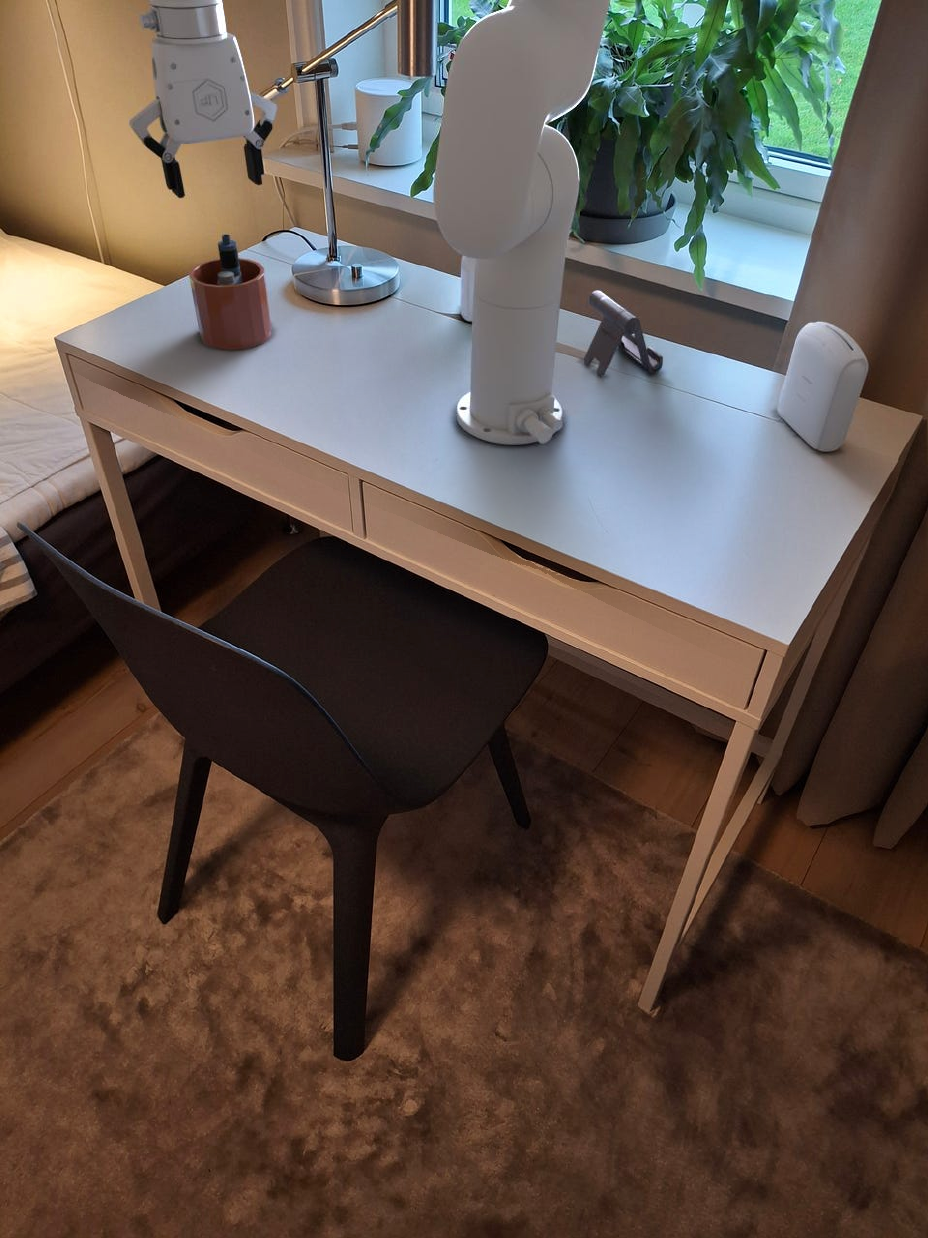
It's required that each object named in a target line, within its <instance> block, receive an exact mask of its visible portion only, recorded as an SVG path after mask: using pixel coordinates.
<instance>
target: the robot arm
mask: <svg viewBox="0 0 928 1238" xmlns="http://www.w3.org/2000/svg"><path fill="white" fill-rule="evenodd" d="M149 2H150V4H149V5H148V7H149V9H148V11H147V12H146V13H141V14H139V22H140V23H139V24H140V26H141V28H142V29H143V30H147V29H148V30H151V31H153V32H154V34H156V37H153V38H152V39H151V64H152V65H151V66H152V77H153V87H154V95H155V99H154V100H153V101H152V102H151V103H149V104H148V105H146V106H145V107H144V108H142V110H140V111H139V112H138V113H137V114H135V115H134V116H133V117H131V118H130V120H129V121H128V125H129V127H130V128H131V130H132V131H133V132H134V134H135V135H136V137H137V138H138V139H139V140H140V141H141V144H142V145H144V146H145V148H147V149H148V150H149V151H151V152H152V153H153V154H155V155H156V156H157V157H158V158H160V161H161V167H162V170H163V175H164V180H165V184H166V187H167V189H168V190H169V191H172V193H173V194H174V195H175V196H176V197H177V198H178V199H184V197H186V193H185V188H184V183H183V182H184V181H183V177H182V172H181V166H180V162H179V161H178V160H177V159H176V157H175V156H176V155H177V153H178V151H179V149H180V147H181V145H192V144H200V143H208V142H216V141H221V140H228V139H235V138H240V137H241V138H242V137H243V138H244V139H245V142H246V143H244V145H243V152H244V158H245V159H244V161H245V167H246V171H247V172H246V173H247V178H248V180H250V182H252V183H253V184H255V185H256V186H262V185H263V178H262V176H264V175H265V168H264V159H263V153H262V149H263V148H264V146H265V142H266V140H267V138H268V137H269V136H270V134H271V132H272V131H273V129H274V127H273V124H274V123H275V119H276V115H277V113H278V109H279V106H278V104H277V103H276V102H274V101H272V100H270V99H269V98H266V97H264V96H261V95H259V94H257V93H255V92H252V91H251V90H250V88H249V84H248V79H247V75H246V69H245V67H244V63H243V58H242V55H241V51H240V48H239V45H238V41H237V39H236V36H235V34H231V33H230V32H227V25H226V19H225V11H224V6H223V0H149ZM610 3H611V0H509V1H508V4H507V6H506V7H505V8H503V9H501V10H498V11H495V12H493V13H490V14H488V15H486V16H484V17H483V18H481V19H480V20H478V21H477V22H476V23H475V24H474V25H472V26H471V27H470V28H469V30H468V31H467V32H466V33H465V35H464V36H463V37H462V39H461V40H460V42H459V44H458V46H457V48H456V50H455V53H454V55H453V58H452V59H451V60H452V61H451V62H450V66H449V70H448V74H447V79H446V87H445V92H444V99H443V107H442V115H441V122H440V130H439V139H438V144H437V145H438V146H437V153H436V162H435V169H434V177H433V189H432V191H433V192H432V193H433V194H432V196H433V197H432V198H433V200H432V201H433V208H434V209H433V210H434V216H435V220H436V223H437V226H438V228H439V231H440V234H441V235H442V236H443V238H444V239H445V241H446V242H447V243H448V245H449V246H450V247H451V248H452V249H453V250H455V252H457V253H458V254H460V255H462V256H463V255H464V256H466V257H469V258H473V259H475V267H474V286H473V311H472V321H471V348H470V349H471V351H470V385H469V387H470V390H469V392H467V393H465V395H463V396H462V397H461V398H460V399H459V401H458V402H457V405H456V420H457V422H458V425H460V427H461V428H462V429H463V430H464V432H467V433H468V434H469V435H471V436H473V437H474V438H477V439H480V440H482V441H485V442H488V443H492V444H498V445H499V444H500V445H506V446H507V445H508V446H510V445H511V446H513V445H515V446H517V445H528V444H533V443H537V442H538V443H540V444H543V445H544V444H546V443H548V442H550V440H551V439H552V437H553V435H554V434H555V433H556V432H559V431H560V430H561V429H562V428H563V426H564V422H563V412H564V411H563V408H562V406H561V404H560V403H559V401H558V400H557V399H556V396H555V395H554V394H552V392H553V382H554V381H553V380H554V372H555V361H556V352H557V351H556V350H557V342H558V341H557V339H558V330H559V329H558V328H559V321H560V319H559V318H560V309H561V299H562V298H561V297H562V290H563V283H564V282H563V281H564V280H563V279H564V271H565V262H566V255H567V249H568V243H569V238H570V234H571V230H572V226H573V220H574V217H575V213H576V208H577V203H578V197H579V190H580V169H579V163H578V159H577V156H576V153H575V151H574V149H573V147H572V145H571V143H570V142H569V140H568V139H567V138H566V137H565V136H564V134H562V133H561V132H560V131H559V130H557V129H556V128H554V127H552V126H550V125H548V124H549V123H551V122H553V121H554V120H556V119H558V118H560V117H562V116H563V115H566V114H567V113H568V112H570V111H571V110H573V109H574V108H576V107H577V105H579V104H580V102H581V101H582V100H583V99H584V98H585V96H586V95H587V93H588V91H589V89H590V86H591V85H592V81H593V78H594V74H595V70H596V65H597V61H598V56H599V51H600V47H601V42H602V38H603V34H604V29H605V26H606V25H605V24H606V20H607V16H608V12H609V7H610ZM253 107H256V108H257V109H260V111H261V114H260V118H259V120H258V121H257V123H256V125H255V115H254V109H253ZM157 119H158V120H159V125H160V128H161V130H162V132H163V135H162V136H161V139H160V141H158V140H156V139H154V137H153V136H152V135H151V133H150V132H149V129H148V127H149V126H150V125H151V124H152V123H153V122H155V121H156V120H157Z"/></svg>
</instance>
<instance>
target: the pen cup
mask: <svg viewBox="0 0 928 1238" xmlns="http://www.w3.org/2000/svg"><path fill="white" fill-rule="evenodd" d="M238 258H239V265H240V272H241V276H242V283H241V284H236V285H225V286H218V284H217V282H218V280H219V279H218V273H219V272H222V268H221V263H222V262H221V261H220V258H216V259H215V258H214V259H210V260H206V261H204V262H200V263H198V264H196V265H195V266H193V268H191V269H190V270H189V271H190V272H189V283H190V289H191V292H192V293H191V294H192V299H193V305H194V310H195V315H196V321H197V326H198V327H197V328H198V333H199V335H200V338H201V339H200V340H201V341H202V342H203V344H205V345H206V346H208V347H210V348H214V349H218V350H223V351H239V350H246V349H251V348H255V347H258V346H260V345H262V344H264V343H265V342H267V341H269V339H270V338H271V336H272V333H273V330H272V320H271V312H270V304H269V303H270V302H269V296H268V289H267V280H266V271H265V267H264V266H263V265H261V263H259V262H257V261H254V260H252V259H249V258H243V257H238Z"/></svg>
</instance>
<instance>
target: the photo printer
mask: <svg viewBox="0 0 928 1238" xmlns="http://www.w3.org/2000/svg"><path fill="white" fill-rule="evenodd" d="M868 372H869V362H868V359H867V357H866V355H865V353H864V351H863V349H862V348H861V347H860V346H859V344H858V343H857V341H855V340H854V339H853V337H852V336H850V335H849V334H848V333H847V332H845V330H843V329H841V328H840V327H838V326H836V325H834V324H832V323H829V322H825V321H815V322H808V323H807V324H805V325H804V326H803V327H802V328H801V329H800V330H799V332H798V334H797V336H796V338H795V342H794V345H793V349H792V352H791V356H790V359H789V363H788V366H787V370H786V374H785V377H784V381H783V385H782V388H781V392H780V396H779V400H778V404H777V413H778V415H779V416H780V417H781V418H782V419H783V420H784V422H785V423H787V425H788V426H789V427H790V428H791V429H792V430H793V431H795V433H796V434H797V435H798V436H799V437H800V438H801V439H802V440H804V441H805V442H806V443H807V444H808V445H809V446H810V447H811V448H813V449H814V450H817V451H819V452H835V451H837V450H838V449H839V448H840V447H841V446H843V445H844V443H845V441H846V438H847V436H848V432H849V430H850V427H851V424H852V420H853V417H854V414H855V412H856V407H857V405H858V402H859V399H860V396H861V393H862V390H863V387H864V384H865V381H866V379H867V375H868Z"/></svg>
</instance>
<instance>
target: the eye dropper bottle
mask: <svg viewBox="0 0 928 1238" xmlns="http://www.w3.org/2000/svg"><path fill="white" fill-rule="evenodd" d="M460 262H461V263H460V304H459V305H460V306H459V307H460V309H459V310H460V311H459V312H460V315H461V317H462V318H463V319H464V320H465V321H467V322H472V311H473V286H474V267H475V259H473V258H469V257H466V256H464V255H462V257H461V261H460Z"/></svg>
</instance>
